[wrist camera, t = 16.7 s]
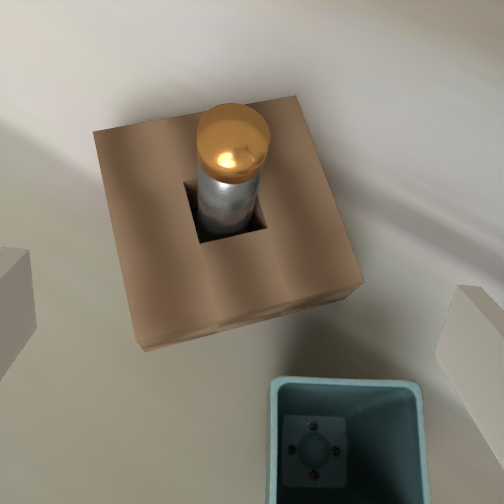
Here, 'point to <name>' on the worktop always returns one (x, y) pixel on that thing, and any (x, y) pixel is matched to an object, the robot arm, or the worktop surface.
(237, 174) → the metal pin
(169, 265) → the block
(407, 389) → the flower pot
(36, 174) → the worktop surface
